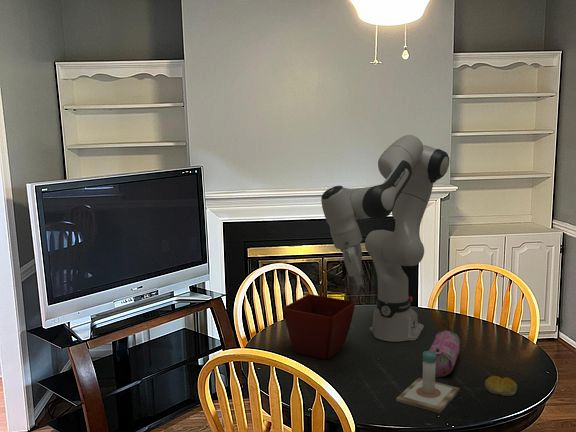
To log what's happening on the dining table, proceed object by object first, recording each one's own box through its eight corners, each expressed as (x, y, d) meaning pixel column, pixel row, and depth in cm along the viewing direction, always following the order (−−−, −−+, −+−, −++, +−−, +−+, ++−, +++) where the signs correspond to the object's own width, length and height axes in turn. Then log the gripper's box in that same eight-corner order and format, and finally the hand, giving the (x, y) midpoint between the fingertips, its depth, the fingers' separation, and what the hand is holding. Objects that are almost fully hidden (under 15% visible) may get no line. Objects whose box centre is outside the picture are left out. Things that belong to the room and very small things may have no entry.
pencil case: (451, 381, 188) (452, 353, 187) (422, 376, 192) (422, 349, 190) (461, 355, 207) (462, 330, 206) (434, 351, 211) (435, 326, 209)
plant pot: (356, 346, 217) (356, 301, 214) (332, 366, 200) (331, 317, 198) (309, 337, 226) (308, 293, 223) (282, 355, 210) (281, 308, 207)
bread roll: (488, 382, 187) (488, 369, 187) (518, 388, 183) (519, 375, 182) (481, 392, 180) (481, 380, 180) (512, 399, 176) (513, 386, 175)
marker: (424, 387, 181) (425, 349, 178) (437, 391, 178) (438, 352, 176) (419, 392, 177) (420, 354, 175) (432, 396, 175) (433, 357, 173)
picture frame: (418, 380, 188) (418, 376, 188) (459, 391, 181) (459, 387, 181) (396, 401, 175) (396, 397, 175) (439, 413, 168) (439, 409, 168)
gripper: (355, 245, 177) (370, 288, 179) (358, 226, 196) (370, 265, 199) (335, 251, 178) (349, 294, 181) (339, 232, 198) (352, 270, 200)
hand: (360, 279), depth 190 cm, fingers open, 8 cm apart
